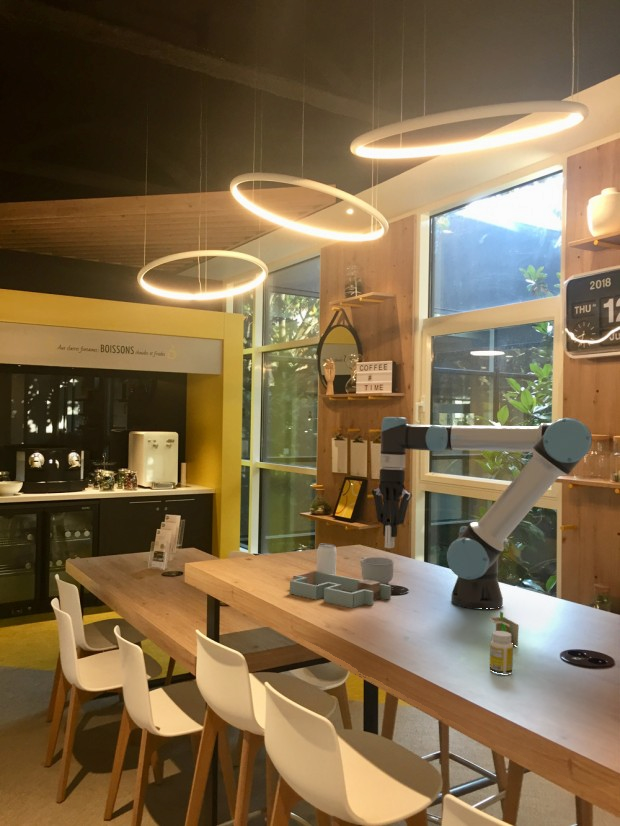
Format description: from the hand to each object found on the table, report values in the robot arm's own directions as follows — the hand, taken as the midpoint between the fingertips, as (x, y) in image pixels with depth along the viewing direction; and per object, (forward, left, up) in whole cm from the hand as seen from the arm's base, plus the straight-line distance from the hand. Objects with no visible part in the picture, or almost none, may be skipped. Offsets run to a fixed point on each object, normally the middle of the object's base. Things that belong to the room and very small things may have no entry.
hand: (389, 547), depth 208 cm
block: (+7, 0, -17) cm, 18 cm away
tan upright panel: (-42, +13, -17) cm, 47 cm away
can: (+30, -10, -17) cm, 36 cm away
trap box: (+16, +4, -16) cm, 23 cm away
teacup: (+17, -20, -17) cm, 31 cm away
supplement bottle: (-49, +34, -17) cm, 62 cm away
